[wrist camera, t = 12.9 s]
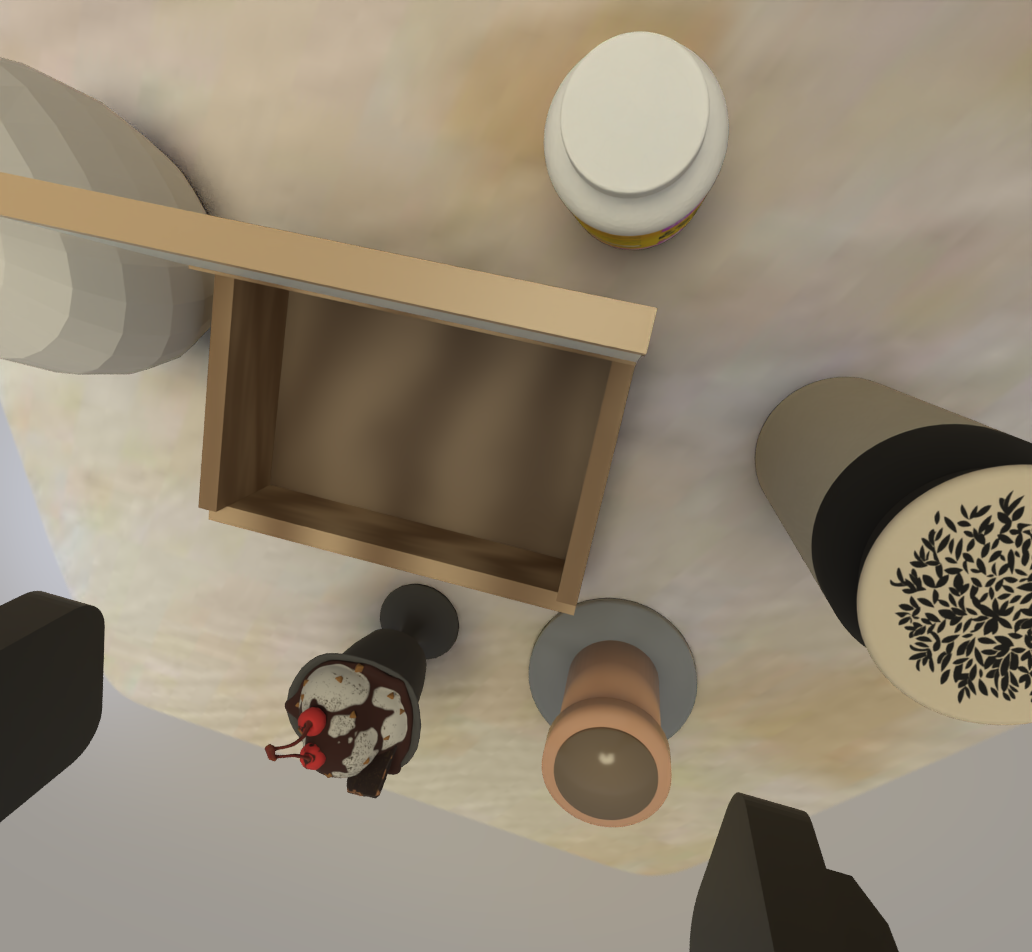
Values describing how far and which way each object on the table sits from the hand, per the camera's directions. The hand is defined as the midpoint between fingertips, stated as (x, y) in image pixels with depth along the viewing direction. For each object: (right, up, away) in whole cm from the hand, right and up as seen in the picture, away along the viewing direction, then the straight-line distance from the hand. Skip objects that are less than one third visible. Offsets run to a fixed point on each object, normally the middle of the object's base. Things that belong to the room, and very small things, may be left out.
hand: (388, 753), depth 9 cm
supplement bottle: (+7, +18, +26) cm, 32 cm away
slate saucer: (+7, -8, +32) cm, 34 cm away
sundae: (-4, -5, +34) cm, 35 cm away
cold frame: (-3, +7, +30) cm, 31 cm away
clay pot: (+7, -8, +32) cm, 34 cm away
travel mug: (+18, +5, +27) cm, 33 cm away
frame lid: (-4, +9, +13) cm, 17 cm away
